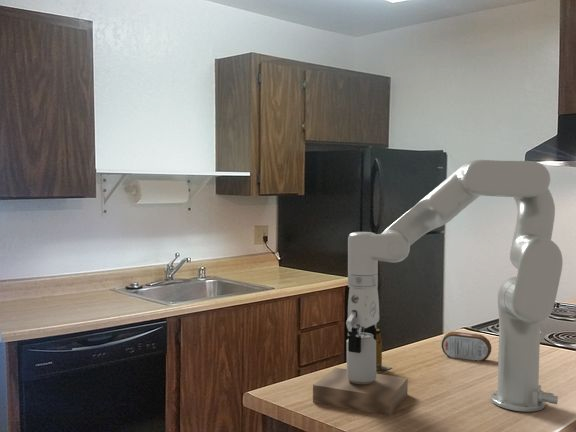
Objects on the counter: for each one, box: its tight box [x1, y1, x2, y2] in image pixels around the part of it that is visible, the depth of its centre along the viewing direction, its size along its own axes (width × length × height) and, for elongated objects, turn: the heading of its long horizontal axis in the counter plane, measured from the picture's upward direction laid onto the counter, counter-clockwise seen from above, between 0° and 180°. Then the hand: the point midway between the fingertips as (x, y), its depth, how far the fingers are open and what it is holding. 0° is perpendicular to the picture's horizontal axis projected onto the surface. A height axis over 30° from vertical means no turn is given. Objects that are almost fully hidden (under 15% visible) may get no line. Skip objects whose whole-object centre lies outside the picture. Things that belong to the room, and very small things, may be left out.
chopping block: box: [312, 367, 409, 417], centre depth 153 cm, size 20×16×5 cm
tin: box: [441, 331, 492, 362], centre depth 188 cm, size 15×3×8 cm, turn 65°
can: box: [346, 331, 377, 384], centre depth 153 cm, size 8×8×12 cm
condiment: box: [362, 327, 392, 374], centre depth 178 cm, size 7×8×12 cm
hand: (362, 347), depth 153 cm, fingers open, 9 cm apart
